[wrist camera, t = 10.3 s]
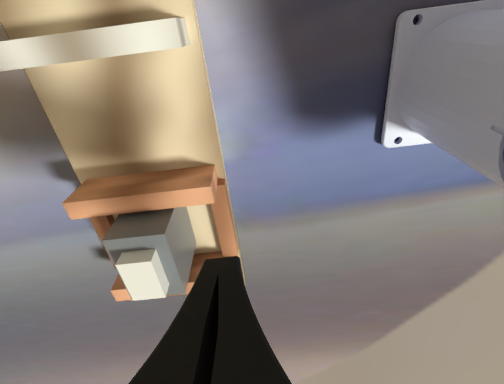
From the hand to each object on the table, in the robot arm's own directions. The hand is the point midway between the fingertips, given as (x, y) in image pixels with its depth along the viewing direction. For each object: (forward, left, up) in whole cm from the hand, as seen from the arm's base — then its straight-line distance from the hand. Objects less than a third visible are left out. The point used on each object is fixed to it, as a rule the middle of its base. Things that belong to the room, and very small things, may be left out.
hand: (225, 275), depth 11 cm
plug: (+6, +3, -9) cm, 11 cm away
